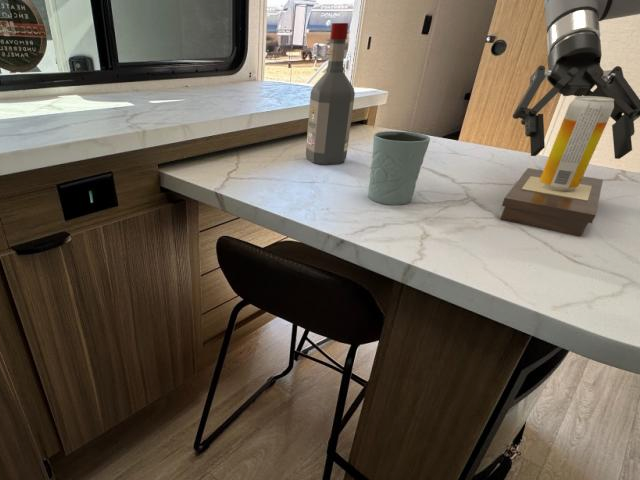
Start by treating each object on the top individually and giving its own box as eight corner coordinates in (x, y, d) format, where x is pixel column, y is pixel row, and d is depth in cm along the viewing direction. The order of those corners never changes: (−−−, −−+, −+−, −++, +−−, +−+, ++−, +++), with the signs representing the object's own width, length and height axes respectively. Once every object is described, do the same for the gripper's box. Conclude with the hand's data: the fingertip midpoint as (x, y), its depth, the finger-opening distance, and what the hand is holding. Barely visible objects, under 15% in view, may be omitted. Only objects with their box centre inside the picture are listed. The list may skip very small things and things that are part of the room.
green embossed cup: (366, 204, 81) (377, 140, 74) (361, 188, 89) (370, 129, 83) (420, 207, 80) (436, 142, 73) (410, 190, 88) (423, 130, 82)
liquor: (316, 165, 104) (329, 22, 88) (302, 156, 112) (313, 23, 95) (349, 163, 106) (368, 22, 90) (333, 154, 114) (349, 23, 97)
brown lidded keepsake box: (520, 186, 90) (527, 167, 88) (593, 199, 84) (603, 178, 81) (496, 219, 75) (504, 196, 72) (584, 238, 68) (596, 214, 66)
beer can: (573, 184, 78) (612, 96, 70) (579, 194, 73) (622, 101, 65) (535, 180, 80) (569, 94, 72) (540, 189, 76) (576, 99, 67)
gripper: (631, 64, 78) (642, 167, 73) (490, 63, 81) (492, 162, 76) (667, 30, 70) (681, 142, 66) (510, 30, 73) (514, 138, 69)
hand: (580, 153), depth 71 cm, fingers open, 13 cm apart
